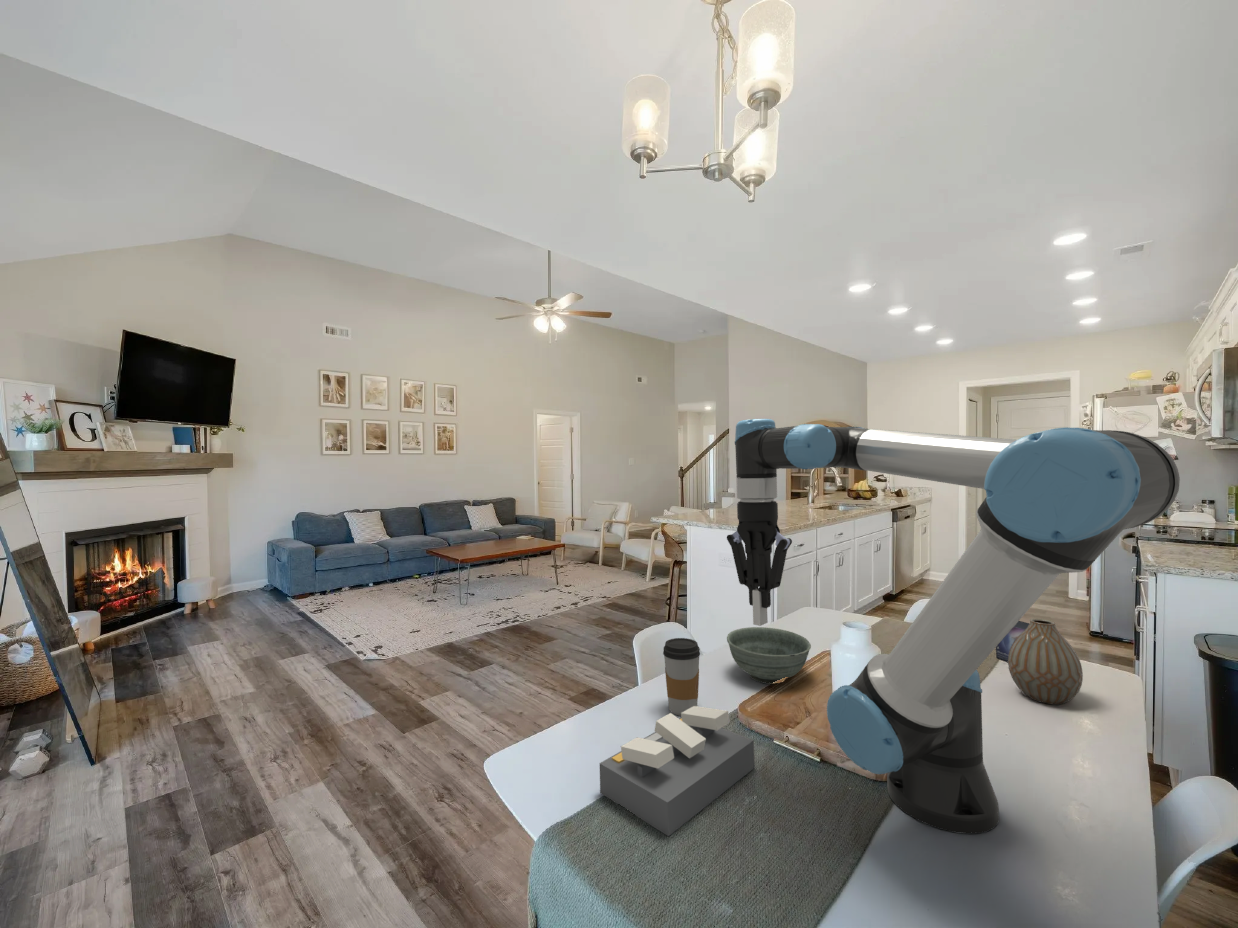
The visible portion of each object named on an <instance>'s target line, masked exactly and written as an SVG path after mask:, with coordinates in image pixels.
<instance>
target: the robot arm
mask: <svg viewBox="0 0 1238 928" xmlns="http://www.w3.org/2000/svg"><path fill="white" fill-rule="evenodd" d="M734 437H735V438H734V445H735V448H734V449H735V468H736V477H735V478H736V499H738V500H740V501H738V502H737V503H736V509H737V510H736V511H737V512H736V513H737V514H736V515H737V520H738V525H737V528H736V531H735V532H732V534H727V535H726V540H727V542H728V544H729V546H730V547H731V548H730V549H731V552H732V556H733V560H734V561H733V562H734V565H735V568H736V573H737V578H738V583H739V584H740V585H741V586H742V585H744V586H745V587H747V589H748V603H749V605H750V606H752V624H753V625H755V626H758V627H762V626H764V625H766V624H768V622H769V621H768V608H770V607H771V605H772V603H771V602H772V598H771V597H772V596H771V592H772V590H774V589H776V588H780V587H781V582H782V578H783V573H784V568H785V564H786V563H785V562H786V557H787V552H788V549H790V547H791V544H792V543H793V540H792V539H791V538H790V537H785V536H784V535H783V534H781V529H780V527H779V525H778V521H779V510H778V505H779V504H778V502H777V501H775V499H777V498H778V481H777V480H778V479H777V478H778V474H777V473H778V471H777V470H778V469H779V470H780V469H781V470H782V469H784V470H785V469H789V470H791V469H792V470H793V469H796V470H799V469H802V470H814V469H823V468H825V469H827V468H829V469H830V468H844V469H852V470H857V471H858V470H859V471H866V472H867V471H868V472H874V473H881V474H888V475H892V476H893V475H894V476H899V477H900V476H901V477H905V478H906V477H907V478H910V479H911V478H913V479H919V480H925V481H931V482H937V483H938V482H939V483H943V484H944V483H945V484H949V485H956V486H963V487H969V488H977V489H983V490H984V491H985V493H986V494H985V495H986V497H985V498H984V499H983V501H982V503H981V504H980V505H979V507H978V508H977V509H976V511H975V515H976V518H977V521H978V523H979V526H980V531H979V532H977V534H976V536H975V537H974V539H973V540H972V541H971V542H970V544H969V545H968V547H967V548H966V549H965V551H964V552H963V554H962V555H961V556H960V557H959V559H958V560H957V561H956V563H955V564H954V565H953V567H952V569H951V570H950V571H949V572H948V574H947V575H946V577H945V578H944V579H943V581H942V582H941V584H940V585H939V586H938V587H937V589H936V590H935V592H934V593H933V594H932V596H931V597H930V599H929V600H927V603H926V604H925V605H924V606H923V608H922V610H920V612H919V614H918V615H917V616H916V617H915V619H914V620H913V621H912V623H911V624H910V626H909V627H908V629H907V630H906V631H905V633H903V635H902V637H901V638H900V639H899V641H898V642H897V643H896V644H895V646H894V647H893V649H892V650H891V652H890V653H880V654H879V653H878V654H876V655H874V656H873V657H872V658H870V660H869V661H868V662H867V664H866V665H865V667H864V668H863V669H862V670H861V672H860V673H859V675H858V676H857V677H856V678H855V680H854V681H853V682H852V683H850V684H849V685H847V684H845V685H842V686H839V687H838V688H837V689H836V690H834V691H833V692H832V693H831V694H830V695H829V697H828V699H827V703H826V716H827V721H828V723H829V725H830V731H831V733H832V735H833V738H834V739H835V741H836V743H837V745H838V746H839V747H840V749H841V750H842V752H843V753H844V754H845V756H846V757H847V758H848V759H850V760H851V761H852V763H854V764H855V765H856V766H858V767H859V768H861V769H863V770H865V771H867V772H869V773H872V774H874V775H875V774H876V775H885V774H887V776H886V777H887V778H886V781H887V785H886V786H887V787H886V788H887V794H888V796H889V797H890V799H891V801H892V802H893V803H894V804H895V805H896V806H897V807H898V808H899V809H901V811H903V812H905V814H908V815H909V816H910V817H912V818H913V819H916V820H917V821H919V822H921V823H924V824H926V825H928V826H931V827H933V828H936V829H940V830H944V831H948V832H953V833H959V834H971V835H972V834H981V833H986V832H989V831H991V830H993V829H994V828H995V827H996V826H997V825H998V823H999V821H1000V813H999V802H998V798H997V795H996V793H995V790H994V788H993V786H992V782H991V779H990V777H989V774H988V772H987V769H986V767H985V764H984V756H983V755H984V754H983V753H984V752H983V751H984V750H983V747H984V746H983V714H982V713H983V709H982V694H983V689H982V687H981V678H980V677H981V676H980V673H979V671H978V670H977V669H978V668H979V667H980V666H981V665H982V664H983V663H984V661H985V660H986V659H987V658H988V657H989V655H990V654H992V652H993V651H994V650H996V646H997V645H998V644H999V643H1000V642H1001V641H1002V639H1003V638H1004V637H1005V636H1006V635H1007V634H1008V633H1009V631H1010V630H1011V629H1012V628H1013V627H1014V626H1015V625H1016V623H1017V622H1018V621H1020V620H1021V619H1022V618H1023V617H1024V615H1025V614H1026V613H1027V612H1028V611H1029V610H1030V609H1031V608H1032V606H1033V605H1034V604H1035V603H1036V602H1037V601H1038V599H1040V597H1041V596H1042V595H1043V594H1044V593H1045V591H1046V590H1047V589H1048V588H1049V586H1051V584H1053V582H1054V581H1055V580H1056V579H1057V577H1059V576H1060V575H1061V574H1067V573H1068V574H1069V573H1083V572H1085V571H1087V570H1088V569H1089V568H1090V567H1091V566H1092V564H1093V563H1094V562H1095V561H1096V560H1097V559H1098V558H1099V556H1101V555H1102V554H1103V552H1104V551H1105V550H1106V549H1107V548H1108V547H1109V545H1111V543H1113V542H1114V540H1115V539H1116V538H1117V537H1118V536H1119V534H1120V533H1122V532H1123V531H1124V530H1127V529H1134V528H1136V527H1140V526H1143V525H1146V524H1149V523H1151V522H1152V521H1155V519H1158V518H1160V516H1162V515H1163V514H1165V512H1166V511H1168V510H1169V509H1170V507H1172V505H1173V504H1174V502H1175V500H1176V498H1177V496H1178V493H1179V492H1180V491H1179V490H1180V481H1181V479H1180V472H1179V468H1178V467H1177V463H1176V462H1175V461H1174V458H1173V457H1172V456H1171V455H1170V454H1169V453H1168V451H1167V450H1166V449H1164V448H1163V447H1162V446H1160V444H1158V443H1157V442H1155V441H1152V440H1151V439H1150V438H1148V437H1146V436H1143V435H1139V434H1136V433H1135V432H1134V433H1133V432H1130V431H1129V432H1128V431H1124V430H1123V431H1121V430H1109V429H1108V430H1107V429H1105V430H1101V429H1097V430H1095V429H1094V430H1093V429H1090V428H1084V427H1057V428H1056V427H1055V428H1051V429H1046V430H1042V431H1041V430H1040V431H1037V432H1034V433H1031V434H1026V435H1025V436H1022V437H1020V438H1018V439H1013V438H998V437H987V436H971V435H959V434H958V435H957V434H945V433H931V432H919V431H918V432H916V431H904V430H903V431H902V430H890V429H888V430H887V429H878V428H872V429H870V428H865V427H861V426H825V425H823V424H820V423H815V424H814V423H804V424H803V423H802V424H799V425H792V426H791V425H790V426H784V427H778V428H777V427H776V422H775V420H774V419H771V418H752V419H743V420H739V421H738V422H737V423H736V425H735V435H734ZM743 543H744V544H743ZM773 545H775V546H776V547H775V549H774V553H773ZM772 553H773V558H772V557H771V554H772ZM771 558H772V559H771Z"/></svg>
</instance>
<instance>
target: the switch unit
mask: <svg viewBox="0 0 1238 928" xmlns="http://www.w3.org/2000/svg"><path fill="white" fill-rule="evenodd" d="M678 719H680V720H681V721H682V717H681V716H680V717H678ZM688 726H689V727H691V728H692V729H693V730H695V731H696V732H697V733H699V734H700V735H702V736H703V737H704V738H706V741H705V746H704V749H703V750H702V751H700V752H699V753H697V754H696V755H694V756H693V757H691V758H688V757H687V756H686V755H684V754H683V753H682V752H681V751H679V750H678V749H677V748H676V747H674V746H673V745H672V744H670V743H669V742H668V741H667V740H665V739H664V738H663V737H662V736H660V735H659V734H658V733H657V732H655V731H654V732H653V733H650V734H649V735H648V736H645V737H644V738H643V739H647V740H652V741H656V742H661V743H665V744H670V745H672V747H673V753H674V759H672V760H670V761H669V762H667V763H666V764H664V765H663V766H661V767H659V768H654V767H650V766H647V765H643V764H639V763H635V762H632V761H628V760H624V759H623V758H622V752H621V750H620V751H619V752H617V753H615V754H614V755H611V756H610V757H608V758H607V759H605V760H603V761H601V762H599V789H600V790H599V794H601V795H603V796H604V797H606V798H607V799H609V800H610V799H611V801H612V802H614V801H615V802H614V803H615V804H617V805H618V804H620V805H621V806H623V807H625V808H626V809H628V810H629V811H631V812H632V813H633V815H634V814H635V815H634V816H636V817H637V818H639V819H640V818H641V820H642V821H644V822H645V823H647V824H648V825H650V826H651V827H653V828H655V829H656V830H658V831H659V832H661V833H662V834H664V835H666V836H667V837H669V836H671V835H672V834H673V833H675V832H676V831H678V829H680V828H682V826H683V825H685V824H687V822H689V821H690V820H691V819H692V818H694V817H695V816H696V815H697V814H698V813H700V812H701V811H702V810H703V809H705V808H706V807H708V806H709V805H710V804H711V803H713V802H714V801H715V800H716V799H718V798H719V797H720V796H721V795H722V794H724V793H725V792H727V791H728V790H729V789H730V788H731V787H732V786H734V785H735V784H736V783H737V782H739V781H740V780H741V779H742V778H744V777H745V776H746V775H748V774H750V772H751V771H752V770H754V769H755V746H754V745H755V744H754V743H755V741H754V739H752V738H749V737H746V736H744V735H742V734H740V733H737V732H734V731H732V730H729V729H727V728H725V727H722V728H720V729H719V730H712V729H707V728H701V727H695V726H690V725H688ZM620 805H619V806H620ZM621 806H620V807H621ZM623 807H622V808H623ZM625 808H624V809H625ZM626 809H625V810H626ZM628 810H627V811H628ZM629 811H628V812H629ZM631 812H630V813H631ZM632 813H631V814H632Z"/></svg>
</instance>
